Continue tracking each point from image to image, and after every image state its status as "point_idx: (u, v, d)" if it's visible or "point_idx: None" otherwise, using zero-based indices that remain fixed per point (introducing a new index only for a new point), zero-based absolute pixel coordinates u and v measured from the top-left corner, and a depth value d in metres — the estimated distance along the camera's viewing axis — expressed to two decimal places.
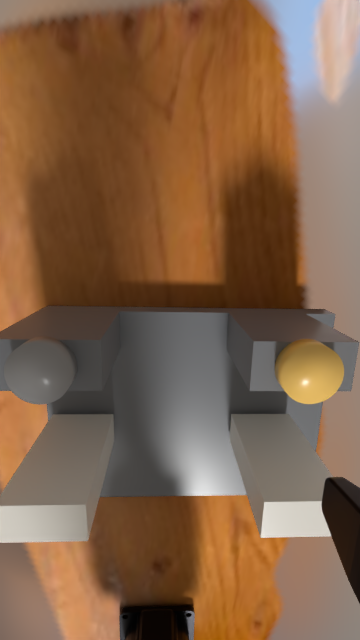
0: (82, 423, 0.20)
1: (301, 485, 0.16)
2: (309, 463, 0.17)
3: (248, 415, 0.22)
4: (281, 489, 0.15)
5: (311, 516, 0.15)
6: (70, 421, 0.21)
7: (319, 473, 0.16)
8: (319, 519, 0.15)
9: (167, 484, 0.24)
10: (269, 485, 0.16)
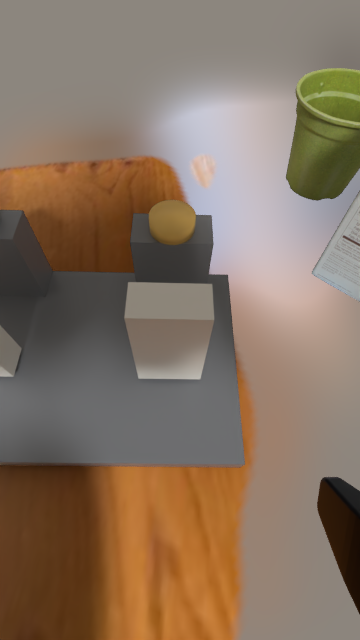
0: None
1: None
2: None
3: None
4: None
5: (175, 297, 0.15)
6: None
7: None
8: (185, 301, 0.15)
9: (61, 444, 0.19)
10: None
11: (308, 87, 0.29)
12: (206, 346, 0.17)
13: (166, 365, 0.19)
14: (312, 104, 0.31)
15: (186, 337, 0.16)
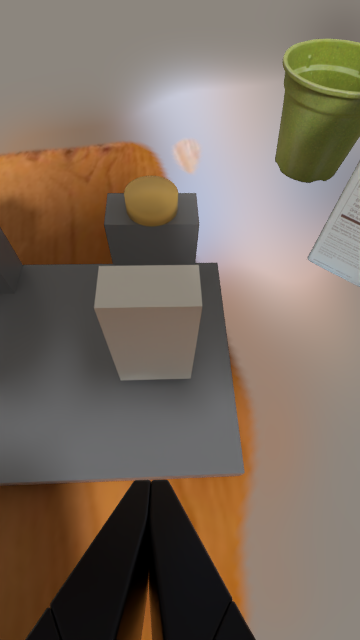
0: None
1: None
2: None
3: None
4: None
5: (155, 281, 0.12)
6: None
7: None
8: (166, 285, 0.12)
9: (33, 459, 0.16)
10: None
11: (295, 60, 0.27)
12: (195, 339, 0.14)
13: (151, 363, 0.16)
14: None
15: (171, 329, 0.13)
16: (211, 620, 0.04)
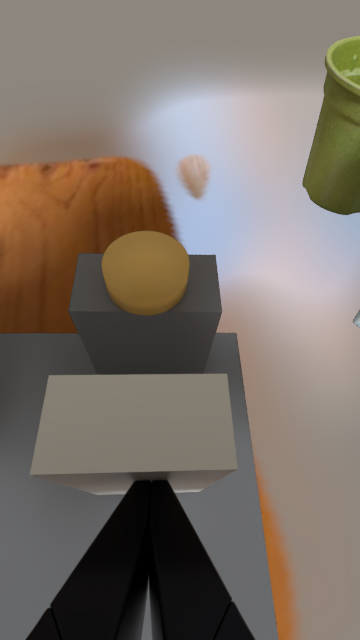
0: None
1: None
2: None
3: None
4: None
5: (150, 411, 0.07)
6: None
7: None
8: (170, 420, 0.07)
9: None
10: None
11: (338, 61, 0.21)
12: (214, 481, 0.09)
13: None
14: None
15: (176, 479, 0.08)
16: (211, 620, 0.04)
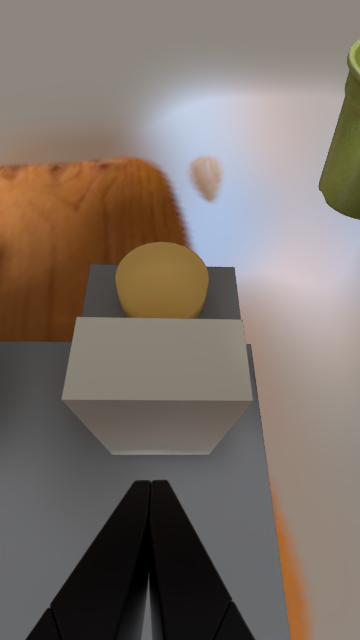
0: None
1: None
2: None
3: None
4: None
5: (171, 349, 0.07)
6: None
7: None
8: (190, 357, 0.07)
9: None
10: None
11: None
12: (227, 428, 0.09)
13: (156, 444, 0.11)
14: None
15: (192, 420, 0.08)
16: (211, 620, 0.04)
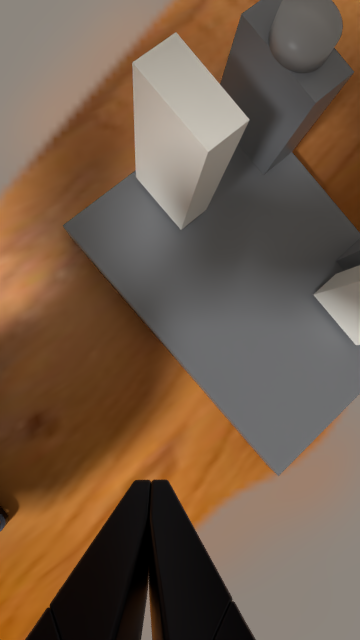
0: None
1: None
2: None
3: None
4: None
5: None
6: None
7: None
8: None
9: (170, 323, 0.18)
10: None
11: None
12: None
13: (358, 314, 0.17)
14: None
15: None
16: (211, 620, 0.04)
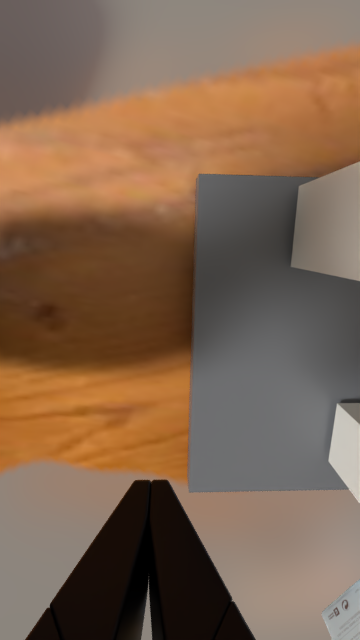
0: None
1: None
2: None
3: None
4: None
5: None
6: None
7: None
8: None
9: (211, 331, 0.18)
10: None
11: None
12: None
13: (354, 455, 0.17)
14: None
15: None
16: (211, 620, 0.04)
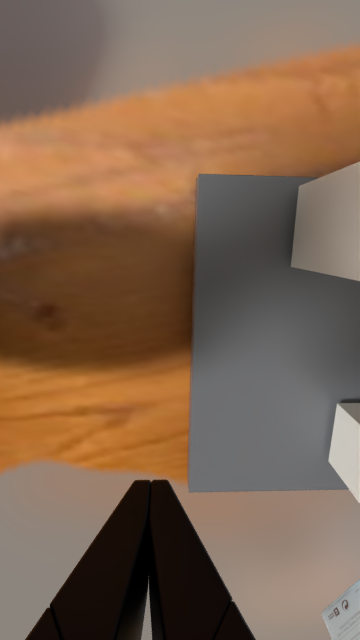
0: None
1: None
2: None
3: None
4: None
5: None
6: None
7: None
8: None
9: (211, 331, 0.18)
10: None
11: None
12: None
13: (354, 455, 0.17)
14: None
15: None
16: (211, 620, 0.04)
